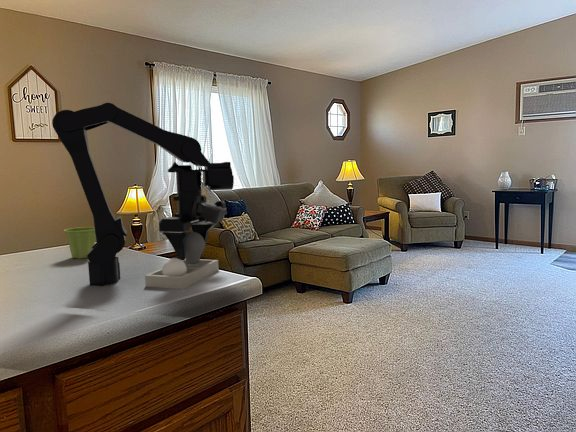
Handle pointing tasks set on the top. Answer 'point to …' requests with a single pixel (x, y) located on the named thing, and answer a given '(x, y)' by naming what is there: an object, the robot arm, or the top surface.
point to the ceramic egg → (174, 267)
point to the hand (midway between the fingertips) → (192, 256)
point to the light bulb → (194, 249)
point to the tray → (182, 281)
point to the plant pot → (80, 241)
